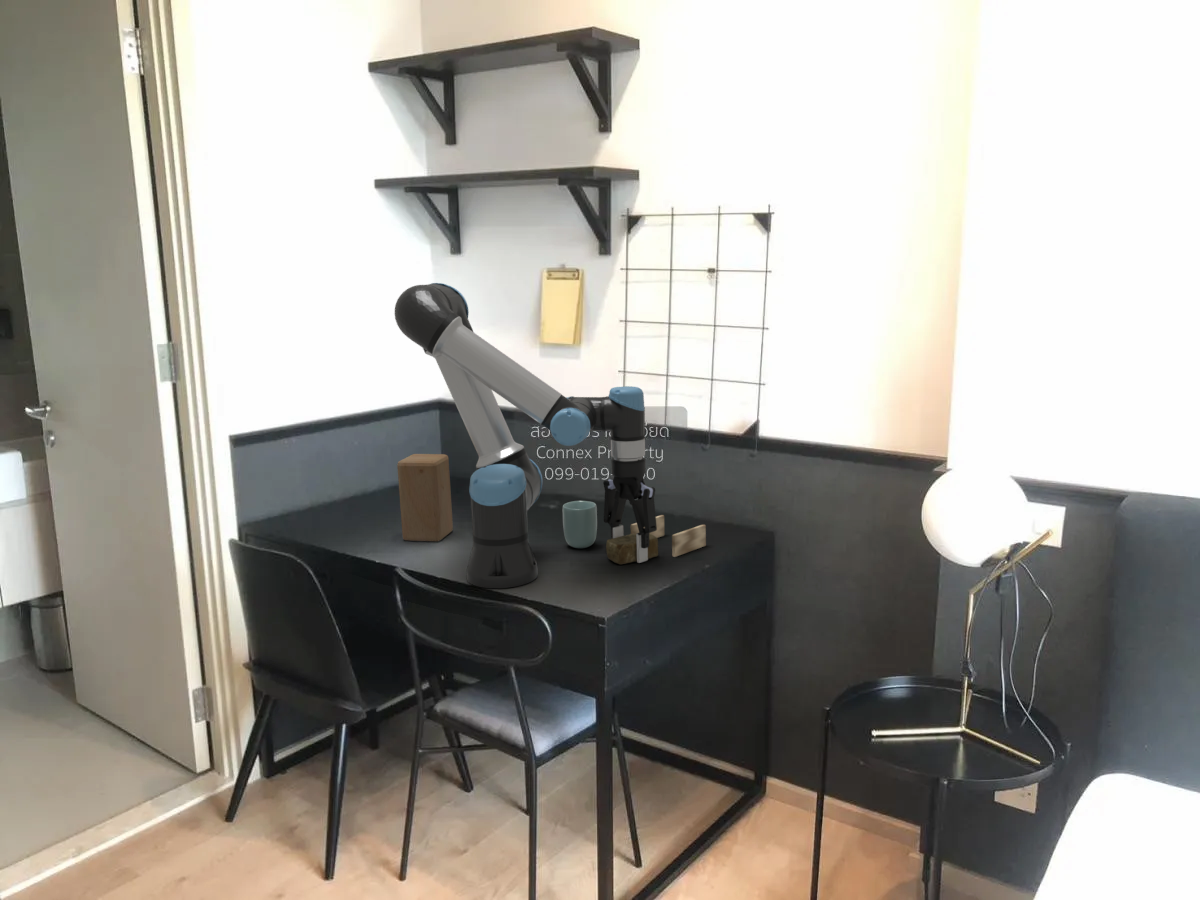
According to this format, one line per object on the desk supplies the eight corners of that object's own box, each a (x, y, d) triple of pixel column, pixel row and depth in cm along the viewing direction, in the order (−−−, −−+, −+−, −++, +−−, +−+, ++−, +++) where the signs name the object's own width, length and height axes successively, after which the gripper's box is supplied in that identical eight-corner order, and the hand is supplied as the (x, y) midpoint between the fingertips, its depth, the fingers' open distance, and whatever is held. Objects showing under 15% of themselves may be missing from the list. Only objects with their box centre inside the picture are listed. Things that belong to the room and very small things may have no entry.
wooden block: (439, 542, 222) (434, 462, 218) (401, 541, 224) (395, 461, 220) (454, 531, 232) (449, 453, 228) (417, 529, 234) (411, 452, 230)
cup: (579, 539, 222) (577, 499, 220) (604, 544, 217) (602, 503, 215) (557, 547, 216) (555, 506, 214) (582, 553, 211) (581, 511, 209)
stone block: (604, 560, 206) (604, 538, 205) (646, 550, 212) (646, 529, 211) (619, 566, 201) (618, 544, 200) (661, 556, 207) (661, 535, 206)
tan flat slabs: (674, 557, 206) (674, 535, 205) (630, 545, 216) (630, 524, 215) (705, 545, 214) (705, 525, 213) (662, 534, 223) (661, 514, 222)
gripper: (673, 460, 197) (674, 562, 202) (608, 449, 211) (611, 545, 215) (649, 466, 192) (651, 571, 196) (584, 454, 206) (588, 552, 210)
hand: (630, 557), depth 206 cm, fingers open, 7 cm apart
